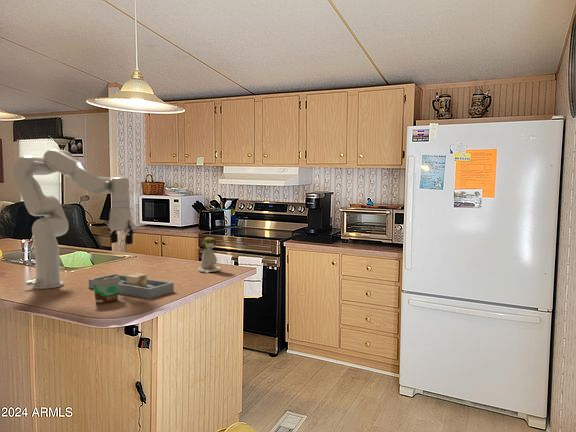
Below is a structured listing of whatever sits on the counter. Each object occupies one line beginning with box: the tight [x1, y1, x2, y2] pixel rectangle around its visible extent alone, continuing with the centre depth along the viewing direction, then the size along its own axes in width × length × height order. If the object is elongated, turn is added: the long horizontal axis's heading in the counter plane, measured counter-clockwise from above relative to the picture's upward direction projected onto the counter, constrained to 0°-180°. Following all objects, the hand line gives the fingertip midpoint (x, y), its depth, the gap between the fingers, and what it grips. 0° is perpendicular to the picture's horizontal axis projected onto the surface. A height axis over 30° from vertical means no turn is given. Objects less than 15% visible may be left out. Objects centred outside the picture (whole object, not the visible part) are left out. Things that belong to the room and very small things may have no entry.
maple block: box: [125, 272, 148, 287], centre depth 197 cm, size 6×6×5 cm
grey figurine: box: [198, 236, 222, 274], centre depth 242 cm, size 12×13×18 cm
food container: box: [92, 273, 120, 305], centre depth 179 cm, size 12×6×10 cm, turn 158°
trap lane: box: [88, 273, 175, 300], centre depth 199 cm, size 14×38×4 cm, turn 61°
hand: (121, 243), depth 200 cm, fingers open, 9 cm apart
